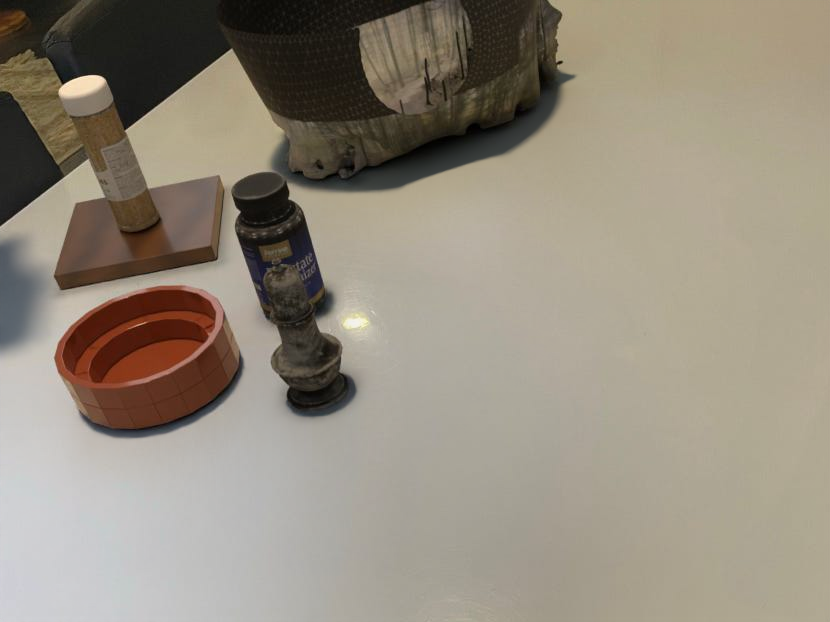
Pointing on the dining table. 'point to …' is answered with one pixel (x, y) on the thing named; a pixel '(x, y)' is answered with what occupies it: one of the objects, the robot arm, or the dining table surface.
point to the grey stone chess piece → (302, 343)
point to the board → (142, 235)
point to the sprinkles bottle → (109, 151)
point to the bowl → (148, 356)
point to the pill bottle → (274, 234)
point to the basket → (388, 71)
